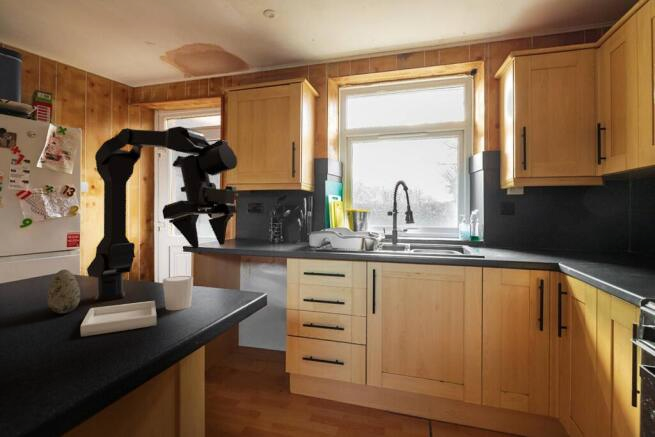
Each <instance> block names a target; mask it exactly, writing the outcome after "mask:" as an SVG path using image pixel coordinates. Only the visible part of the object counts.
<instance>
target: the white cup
mask: <svg viewBox="0 0 655 437" xmlns="http://www.w3.org/2000/svg"><path fill="white" fill-rule="evenodd" d="M193 283H194V277H193V276H189V275H177V276H176V275H175V276H169V277H166V278H162V288H163V294H164V295H163V296H164V304H165V309H166V310H168V311H180V310H185V309H188V308H190V307H191V306H192V296H193V287H194V286H193Z"/></svg>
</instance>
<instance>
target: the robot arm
mask: <svg viewBox="0 0 655 437" xmlns="http://www.w3.org/2000/svg"><path fill="white" fill-rule="evenodd" d="M127 145H129V146H132V147H131V149H130V150H127V149H126V150H125V149H124V147H126V146H127ZM143 147H151V148H165V149H168V150H171V151H175V152H176V153H177V152H178V153H183V154H188V155H186V156H182V155H177V157H176V159H175V160H174V161H173V162H172V167H174V168H180V171H181V172H180V173H181V175H182V182H183V186H181V187H180V192H181V193H185V197H186V200H177V201H175V202H172V203H168V204H165V205H164V207H163V209H162V211H161V212H162V216H163V219H164V220H168V223H169V224H172V225H174V226H175V228H176V229H177V230H178V231H179V232H180V233H181V234H182V236H183V238H185V240H186V241H187V243H189V245H190V246H191V248H192V249H193V250H196V249H198V248H200V247H199V236H198V230H197V222H198V218H199V216H200V215H207V216H208V217H209V218H210V219H208V220H207V221H208V223H209V225H210V227H211V229H212V232H213V233H214V235H215V238H216V241H217V242H218V244H219V245H220V246H224V245H225V242H226V236H227V235H226V234H227V227H228V222H229V221H230V220H231V218H234V217H235V214H237V209H236V205H235V201H236V200H237V199H238V198H239V194H238V190H237V187H236V186H233V185H232V186H230V185H225V186H224V187H225V188H224V189H223V188H222V189H221V188H217V186H216V184H215V182H211V180H210V176H214V177H215V176H217V175H219V174H222V173H225V172H228V171H229V172H230V171H231V170H235V168H237V165H238V157H237V156H236V154H235V152H234V151H233V149H232V148H231V147H230V146H229V142H228V141H227V140H224V139H220V140H219V139H218V140H217V141H215V142H214V143H211V144H210V142H209V141H207V140H206V136H205V135H204V133H203V132H201V131H198V130H194V129H190V128H187V127H184V126H181V125H180V126H179V125H178V126H173V127H169V128H168V129H166V130H150V129H149V130H148V129H147V130H146V129H133V128H128V127H126V128H122V129H121V130H120V131H119V132H118V134H117V135H115V136H113V137H111V138H109V139H107V140H106V141H104V142H103V143H102V144H101V146H100V147H99V148H98V150H97V151H96V153H95V155H94V158H95V159H94V160H95V165H96V171H97V173H98V175H99V176H100V177H101V180H102V181H103V237H102V238H101V240H100V241H99V242H98V244H97V246H96V249H95V256H94V258H93V260H91V262H90V264H89V265H88V266H87V268H86V271H87V275H88V277H90V278H96V280H97V282H96V283H97V286H96V287H97V294H96V295H95V298H94V302H97V301H107V300H116V299H124V298H125V295H126V290H124V287H123V285H124V284H123V274H125V273H130V272H131V269H132V266H133V263H134V260H135V258H136V255H135V247H136V245H135V243H134V242H131V241H130V240H129V239H128V237H127V231H126V230H127V182H128V181H129V180H130V179H131V177H132V175H133V174H134V170H135V168H134V167H135V164H136V163H137V162H138V161H139V160H140V159H141V156H142V148H143Z"/></svg>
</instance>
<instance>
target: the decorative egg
mask: <svg viewBox="0 0 655 437" xmlns="http://www.w3.org/2000/svg"><path fill="white" fill-rule="evenodd" d="M46 297H47V298H46V299H47V306H49V309H50V310H52V311H53V312H55V313H57V314H67V313H70V312H72V311H73V310H74V309H76V308H77V307H78V305H79V303H80V301H81V288H80V285H79V283H78V281H77V278H76V276H75V275H74V274H73V273H72V272H71V271H70V270H68V269H61V270H59V271H57V272H56V273H55V274H54V276H53V277H52V280H51V281H50V284H49V287H48V291H47V296H46Z"/></svg>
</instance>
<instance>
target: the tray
mask: <svg viewBox="0 0 655 437" xmlns="http://www.w3.org/2000/svg"><path fill="white" fill-rule="evenodd" d="M156 310H157V309H156V302H155V300H151V301H150V300H149V301H142V302H133V303H124V304H115V305H108V306H107V305H106V306H98V307H91V308H89V310H88V312H87V314H86V315H85V318H84V319H83V321H82V323H81V325H80V337H88V336H95V335H101V334H108V333H114V332H120V331H127V330H134V329H139V328H147V327H153V326H157V311H156Z"/></svg>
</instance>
